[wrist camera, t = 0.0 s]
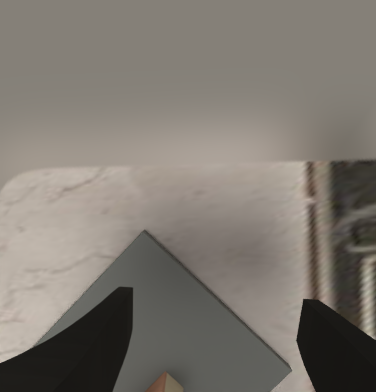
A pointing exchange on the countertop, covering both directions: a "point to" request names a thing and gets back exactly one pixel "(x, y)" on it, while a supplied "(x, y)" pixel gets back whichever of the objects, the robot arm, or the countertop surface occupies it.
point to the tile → (165, 384)
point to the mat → (179, 328)
